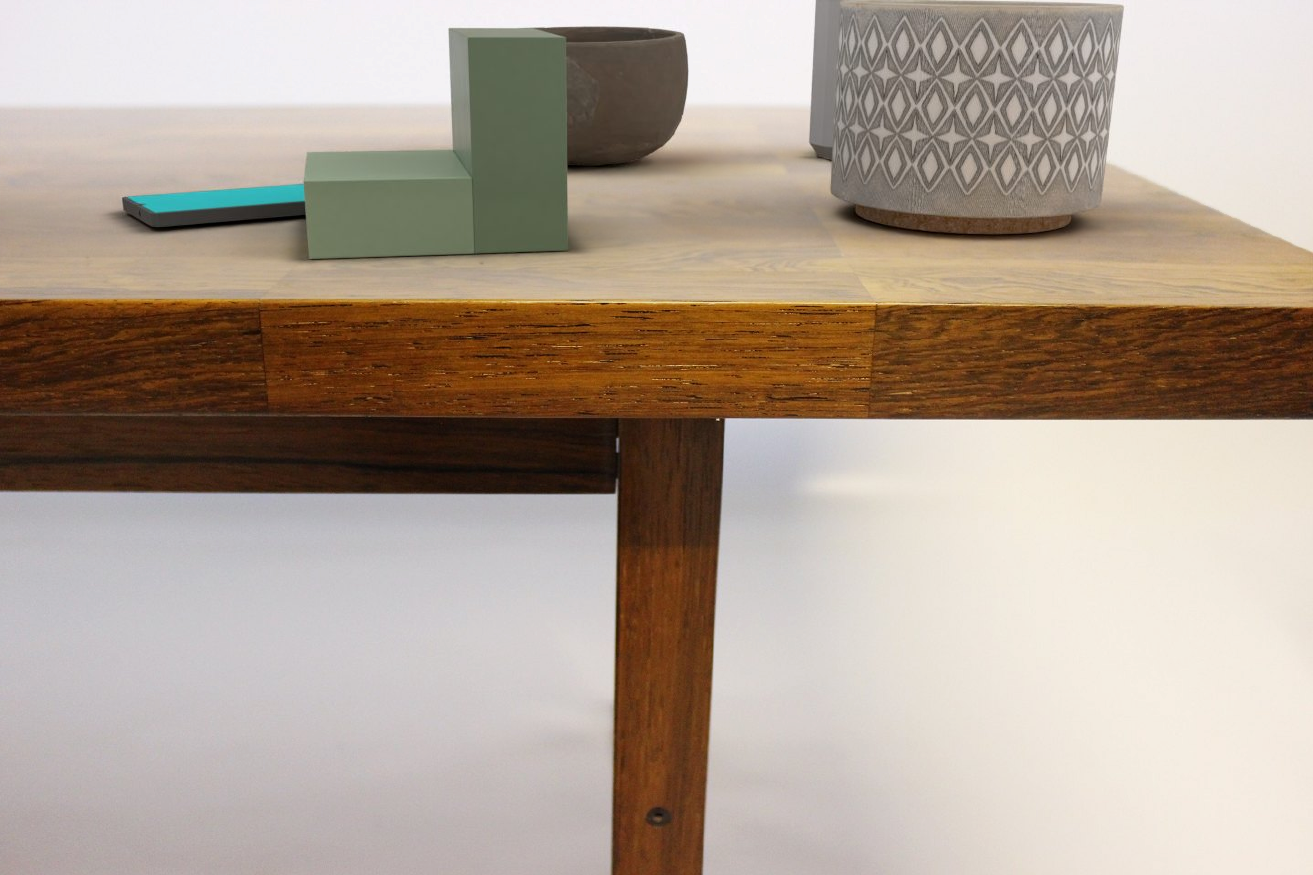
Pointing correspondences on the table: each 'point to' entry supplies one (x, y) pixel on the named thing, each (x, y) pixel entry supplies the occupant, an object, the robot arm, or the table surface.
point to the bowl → (622, 91)
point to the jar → (824, 76)
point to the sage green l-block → (459, 164)
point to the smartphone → (217, 205)
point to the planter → (973, 112)
